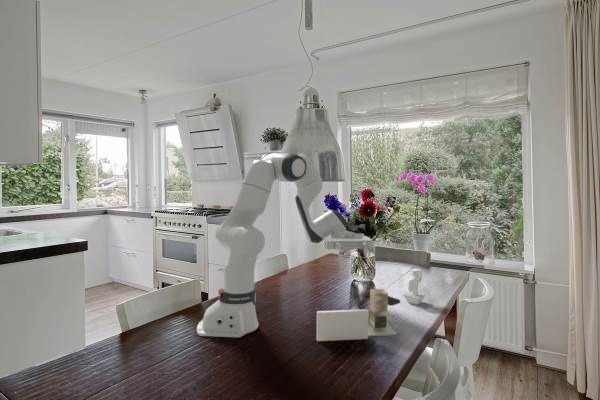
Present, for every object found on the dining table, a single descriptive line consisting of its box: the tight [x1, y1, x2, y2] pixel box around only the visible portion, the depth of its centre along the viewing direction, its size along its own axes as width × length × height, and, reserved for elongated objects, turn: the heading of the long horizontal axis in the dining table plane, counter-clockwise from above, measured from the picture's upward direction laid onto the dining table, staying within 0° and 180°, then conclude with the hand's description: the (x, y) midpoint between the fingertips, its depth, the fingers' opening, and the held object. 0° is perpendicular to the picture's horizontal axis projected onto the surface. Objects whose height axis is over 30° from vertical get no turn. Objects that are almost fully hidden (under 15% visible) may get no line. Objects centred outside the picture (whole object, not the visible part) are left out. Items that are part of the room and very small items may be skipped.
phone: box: [364, 292, 401, 306], centre depth 166 cm, size 8×1×15 cm
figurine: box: [403, 268, 427, 306], centre depth 161 cm, size 7×9×15 cm
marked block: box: [368, 288, 389, 332], centre depth 132 cm, size 5×5×14 cm
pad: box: [368, 322, 397, 337], centre depth 133 cm, size 10×10×1 cm
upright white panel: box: [315, 308, 370, 342], centre depth 125 cm, size 18×2×10 cm, turn 97°
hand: (352, 247), depth 145 cm, fingers open, 8 cm apart
